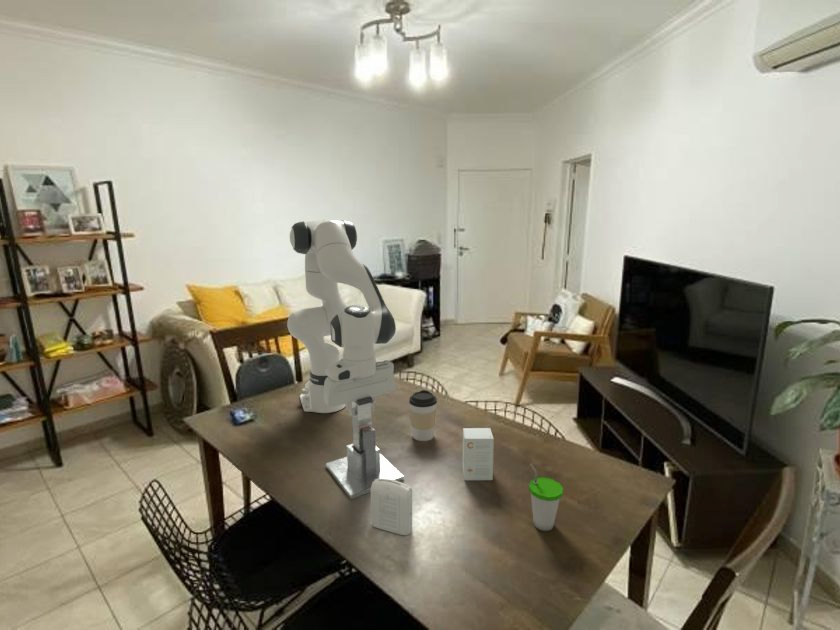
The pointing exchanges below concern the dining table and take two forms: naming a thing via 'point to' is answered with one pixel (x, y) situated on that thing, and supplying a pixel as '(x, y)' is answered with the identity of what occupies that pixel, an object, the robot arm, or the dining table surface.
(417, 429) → the coffee cup
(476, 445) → the small box
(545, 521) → the cup
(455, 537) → the dining table surface
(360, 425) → the column
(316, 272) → the robot arm
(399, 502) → the photo printer
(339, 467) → the stand base
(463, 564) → the dining table surface
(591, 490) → the dining table surface
